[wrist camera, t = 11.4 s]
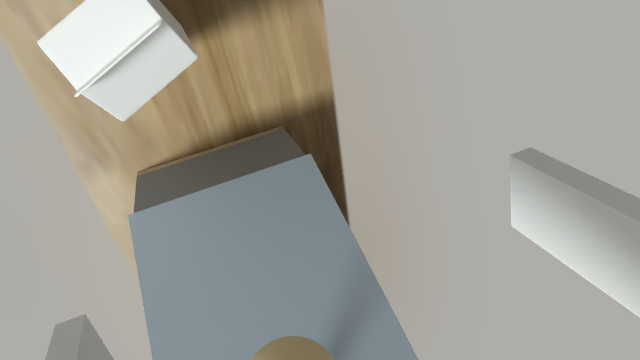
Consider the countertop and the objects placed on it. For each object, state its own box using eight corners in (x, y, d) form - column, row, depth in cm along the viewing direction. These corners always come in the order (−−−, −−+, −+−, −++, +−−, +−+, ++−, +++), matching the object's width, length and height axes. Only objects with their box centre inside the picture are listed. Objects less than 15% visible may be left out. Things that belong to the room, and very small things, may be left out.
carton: (137, 172, 48) (133, 216, 39) (281, 125, 51) (308, 157, 42) (205, 323, 58) (214, 384, 49) (322, 277, 61) (350, 327, 52)
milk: (83, 14, 41) (16, 49, 21) (134, -31, 40) (113, -35, 21) (135, 67, 44) (118, 140, 24) (183, 26, 43) (204, 67, 24)
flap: (131, 218, 39) (71, 133, 30) (311, 157, 42) (301, 65, 33) (184, 528, 26) (105, 528, 17) (440, 406, 29) (477, 356, 20)
